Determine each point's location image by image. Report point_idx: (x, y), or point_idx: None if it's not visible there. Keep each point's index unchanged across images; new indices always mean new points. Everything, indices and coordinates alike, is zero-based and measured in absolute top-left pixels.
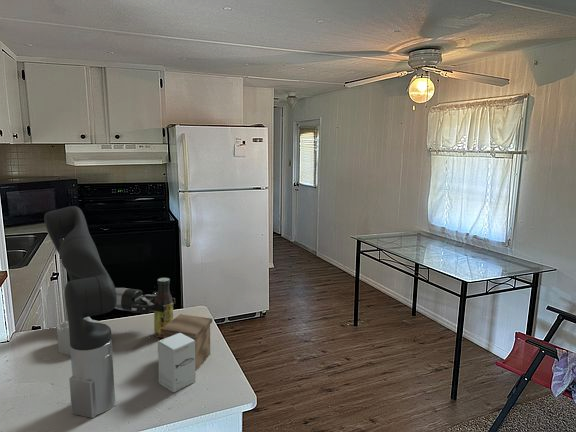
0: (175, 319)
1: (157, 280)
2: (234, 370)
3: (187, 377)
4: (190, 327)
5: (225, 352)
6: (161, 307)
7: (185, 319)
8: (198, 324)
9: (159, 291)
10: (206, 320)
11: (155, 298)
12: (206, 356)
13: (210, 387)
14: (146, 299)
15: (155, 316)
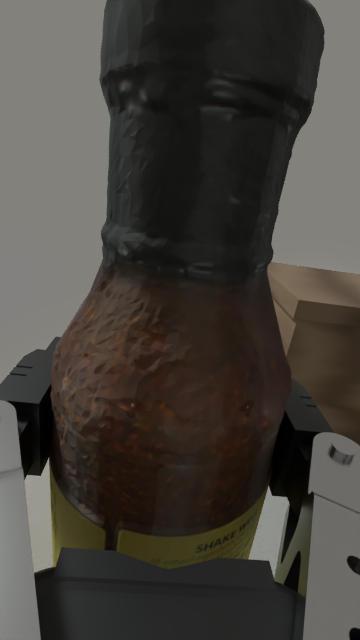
0: (358, 304)
1: (300, 10)
2: None
3: None
4: (354, 281)
5: None
6: (293, 378)
7: (323, 289)
8: (318, 273)
9: (271, 246)
10: (277, 265)
11: (256, 396)
12: None
13: None
14: (326, 626)
15: (247, 558)
